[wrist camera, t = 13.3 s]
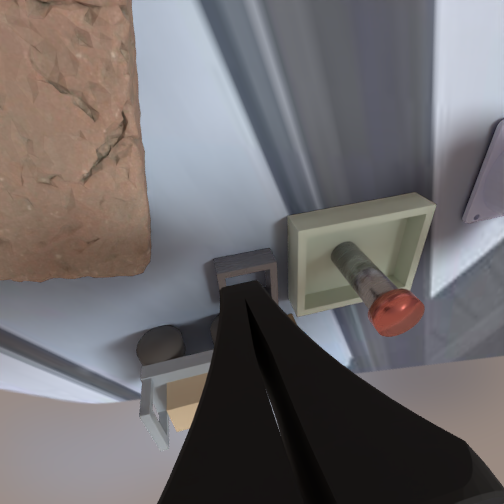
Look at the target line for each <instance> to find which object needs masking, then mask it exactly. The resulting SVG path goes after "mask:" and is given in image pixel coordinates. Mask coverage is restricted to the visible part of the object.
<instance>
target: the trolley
mask: <svg viewBox="0 0 504 504" xmlns="http://www.w3.org/2000/svg"><path fill="white" fill-rule="evenodd" d="M218 322H219V316H217V317H216V318H215V319H214V321H213V322H212V324H211V329H210V330H211V335H212V340H213V344H214V346H215V341H216V335H217V329H218ZM213 350H214V349H213ZM213 350H209V351H205V352H200V353H196V354H192V355H188V356H184V354H185V344H184V341H183V338H182V335H181V333H180V331H179V330H178V329H176V328H175V327H172V326H161V327H157V328H154V329H152V330H150V331H149V332H147V333H146V334H145V335H144V336H143V337H142V338H141V339H140V341H139V343H138V345H137V349H136V352H137V356H138V358H139V360H140V362H141V364H142V366H143V367H141V378H140V380H141V382H142V390H141V401H140V413H139V417H140V419H141V421H142V422H143V424H144V425H145V427H146V429H147V430H148V432H149V434H150V435H151V437H152V438H153V440H154V442H155V443H156V445H157V447H158V448H159V450H160V451H163V450H167V449H169V417H170V419H171V421H172V423H173V425H174V426H175V429H176V431H177V432H179V431H182V430H186V429H190V426H191V423H192V421H193V418H194V415H195V412H196V409H197V406H198V404H199V401H200V398H201V395H202V391H203V388H204V385H205V382H206V378H207V375H208V371H209V367H210V363H211V359H212V354H213ZM183 356H184V357H183ZM153 404H154V406H155V408H156V410H157V412H158V414H159V421H158V419H157V417H156V415H155V414H154V412H153V410H152V406H153Z"/></svg>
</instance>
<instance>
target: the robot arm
mask: <svg viewBox="0 0 504 504" xmlns="http://www.w3.org/2000/svg"><path fill="white" fill-rule="evenodd" d="M501 216H504V119H503V120H502V121H501V122H500V123H499V124H498V126H497V128H496V130H495V133H494V136H493V138H492V141H491V144H490V146H489V149H488V151H487V154H486V157H485V159H484V162H483V165H482V167H481V170H480V173H479V175H478V178H477V181H476V183H475V186H474V188H473V191H472V194H471V196H470V199H469V202H468V204H467V207H466V210H465V212H464V215H463V218H462V220H463V221H464V222H466V223H472V222H477V221H482V220H487V219H492V218H496V217H501ZM219 292H220V313H219V322H218V329H217V335H216V341H215V346H214V350H213V354H212V359H211V363H210V367H209V371H208V375H207V378H206V382H205V385H204V388H203V391H202V395H201V398H200V401H199V404H198V406H197V409H196V412H195V415H194V418H193V421H192V423H191V426H190V429H189V432H188V434H187V437H186V439H185V442H184V444H183V446H182V449H181V451H180V453H179V456H178V458H177V461H176V463H175V465H174V468H173V470H172V473H171V475H170V477H169V479H168V482H167V484H166V486H165V488H164V490H163V492H162V495H161V497H160V499H159V501H158V503H157V504H504V487H503V486H502V485H501V483H500V482H499V481H498V479H497V478H496V477H495V475H494V474H493V473H492V472H491V470H490V469H489V468H488V467H487V466H486V464H485V463H484V462H483V461H482V459H481V458H480V457H479V456H478V455H477V454H476V453H475V452H474V451H473V450H472V448H470V447H469V445H468V444H467V443H466V442H465V441H464V440H462V439H460V438H458V437H456V436H454V435H453V434H451V433H449V432H447V431H445V430H444V429H442V428H440V427H438V426H436V425H434V424H433V423H431V422H429V421H428V420H426V419H424V418H422V417H421V416H419V415H417V414H415V413H414V412H412V411H410V410H409V409H407V408H406V407H404V406H402V405H401V404H399V403H398V402H396V401H394V400H392V399H391V398H389V397H388V396H386V395H385V394H384V393H382V392H381V391H379V390H378V389H376V388H375V387H373V386H371V385H370V384H369V383H367V382H366V381H364V380H363V379H361V378H360V377H358V376H357V375H356V374H354V373H353V372H351V371H350V370H349V369H348V368H346V367H345V366H344V365H342V364H341V363H340V362H338V361H337V360H336V359H335V358H333V357H332V356H331V355H330V354H328V353H327V352H326V351H325V350H323V349H322V348H321V347H320V346H319V345H318V344H317V343H315V342H314V341H313V340H312V339H311V338H310V337H309V336H308V335H307V334H306V333H305V332H303V331H302V330H301V329H300V328H299V327H298V326H297V325H296V324H295V323H294V322H293V321H292V320H291V319H290V318H289V316H288V315H287V314H286V313H285V312H284V311H283V310H282V309H281V308H280V307H279V306H278V305H277V303H276V302H275V301H274V300H273V299H272V298H271V296H270V295H269V294H268V293H267V291H266V290H265V289H264V287H263V286H262V285H261V283H260V282H259V281H257V280H254V281H250V282H245V283H241V284H236V285H231V286H227V287H222V288H221V289H220V290H219ZM266 391H267V392H266ZM267 394H268V395H267ZM268 397H269V398H268ZM269 400H270V401H269ZM270 402H271V405H272V407H271V405H270ZM272 408H273V411H274V413H275V417H276V420H277V423H278V426H277V423H276V420H275V417H274V414H273V411H272ZM278 427H279V429H278ZM279 430H280V432H279ZM280 434H281V435H280Z"/></svg>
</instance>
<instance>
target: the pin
mask: <svg viewBox="0 0 504 504" xmlns="http://www.w3.org/2000/svg"><path fill="white" fill-rule="evenodd" d="M331 261H332V262H333V263H334V265H335V266H336V267H337V269H338V270H339V271H340V272H341V274H342V275H343V276H344V278H345V279H346V280H347V281H348V283H349V284H350V285H351V287H352V288H353V289H354V290H355V292H356V293H357V294H358V296H359V297H360V298H361V299H362V301H363V302H364V303H365V305H366V306H367V307H368V309H369V312H368V319H369V320H370V322H371V323H372V324H373V326H374V327H375V329H376V330H377V331H378V333H379V334H380V335H382V336H386V337H391V336H396V335H399V334H402V333H404V332H406V331H408V330H409V329H411V328H412V327H413V326H414V325H416V324H417V323H418V321H419V320H420V319H421V317H422V316H423V313H424V305H423V303H422V302H421V301H420V300H419V299H418V298H417V297H416V296H415V295H414V294H413V293H412V292H411V291H409V290H407V289H402V288H400V289H398V288H397V287H396V286H395V285H394V284H393V283H392V282H391V281H390V280H389V279H388V277H387V276H386V275H385V274H384V273H383V272H382V271H381V270H380V269H379V268H378V267H377V266H376V265H375V264H374V263H373V262H372V261H371V260H370V259H369V258H368V257H367V256H366V255H365V254H364V253H363V252H362V251H361V250H360V249H359V247H358V246H357V245H356V244H355V243H353V242H350V241H347V242H343V243H340V244H339V245H337V246H336V247H335V248H334V250H333V251H332V253H331Z"/></svg>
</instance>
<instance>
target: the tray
mask: <svg viewBox="0 0 504 504" xmlns="http://www.w3.org/2000/svg"><path fill="white" fill-rule="evenodd" d="M436 205H437V204H435V203H433V202H431V201H430V200H428V199H426V198H424V197H423V196H421V195H419V194H417V193H416V192H414V193H408V194H403V195H398V196H392V197H387V198H381V199H376V200H371V201H365V202H360V203H354V204H349V205H344V206H338V207H333V208H327V209H322V210H316V211H311V212H306V213H300V214H295V215H289V216H287V227H288V299H289V301H290V303H291V305H292V307H293V309H294V311H295V313H296V315H297V317H300V316H304V315H309V314H313V313H317V312H321V311H325V310H330V309H334V308H338V307H342V306H347V305H351V304H355V303H359V302H363V301H362V299H361V298H360V297H359V296H358V294H357V293H356V292H355V290H354V289H353V288H352V287H351V285H350V284H349V283H348V281H347V280H346V279H345V278H344V276H343V275H342V274H341V272H340V271H339V270H338V269H337V267H336V266H335V265H334V263H333V262H332V261H331V253H332V251H333V250H334V248H335V247H336V246H337V245H339V244H340V243H343V242H347V241H350V242H353V243H355V244H356V245H357V246H358V247H359V249H360V250H361V251H362V252H363V253H364V254H365V255H366V256H367V257H368V258H369V259H370V260H371V261H372V262H373V263H374V264H375V265H376V266H377V267H378V268H379V269H380V270H381V271H382V272H383V273H384V274H385V275H386V276H387V277H388V279H389V280H390V281H391V282H392V283H393V284H394V285H395V286H396V287H397V288H398V289H400V288H402V289H407V290H409V291H410V289H411V285H412V282H413V279H414V276H415V272H416V269H417V266H418V263H419V260H420V256H421V253H422V250H423V247H424V244H425V240H426V237H427V234H428V231H429V227H430V224H431V221H432V218H433V215H434V211H435V208H436Z"/></svg>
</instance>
